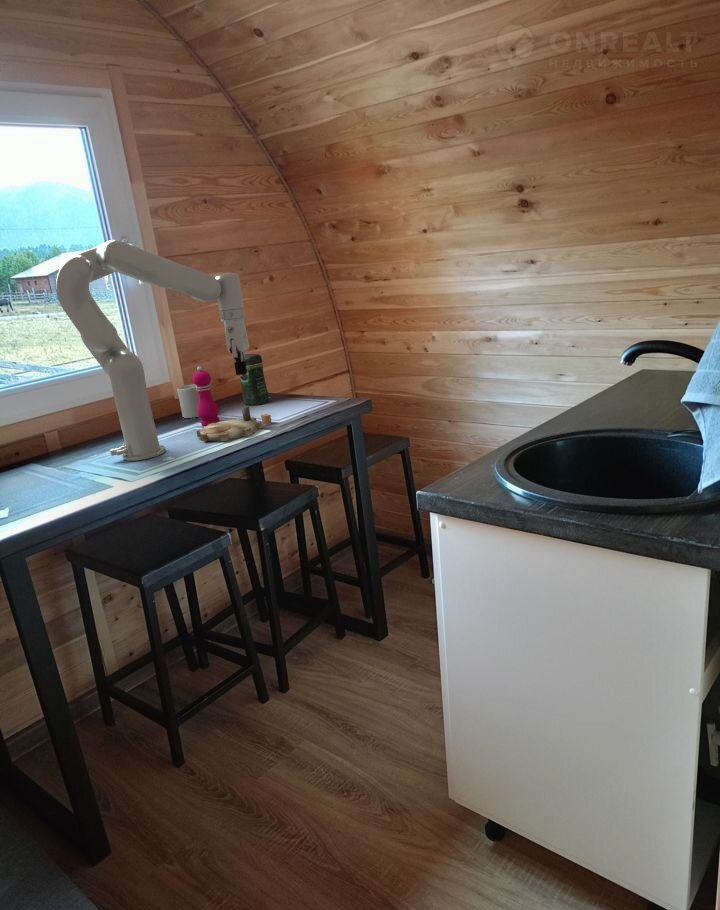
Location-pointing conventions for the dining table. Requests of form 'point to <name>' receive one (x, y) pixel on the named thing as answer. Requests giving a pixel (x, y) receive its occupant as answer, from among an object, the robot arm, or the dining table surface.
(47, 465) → the dining table surface
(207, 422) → the pepper mill
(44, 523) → the dining table surface
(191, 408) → the mug
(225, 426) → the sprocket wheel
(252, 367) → the coffee jar
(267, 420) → the index marker
